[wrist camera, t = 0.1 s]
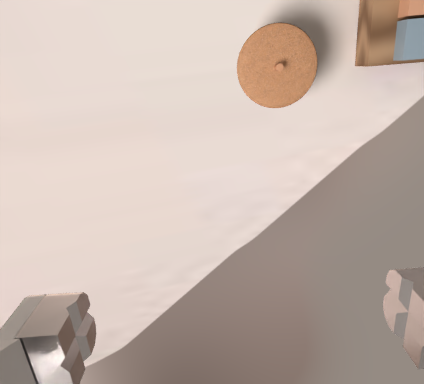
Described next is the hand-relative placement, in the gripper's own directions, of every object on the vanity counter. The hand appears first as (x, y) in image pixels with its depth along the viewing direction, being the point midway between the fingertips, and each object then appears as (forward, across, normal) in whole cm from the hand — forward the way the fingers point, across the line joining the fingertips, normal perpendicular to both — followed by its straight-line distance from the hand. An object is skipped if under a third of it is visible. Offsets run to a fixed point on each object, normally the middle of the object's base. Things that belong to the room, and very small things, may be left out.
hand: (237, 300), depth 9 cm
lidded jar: (+48, -9, -5) cm, 49 cm away
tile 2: (+43, -28, -7) cm, 52 cm away
